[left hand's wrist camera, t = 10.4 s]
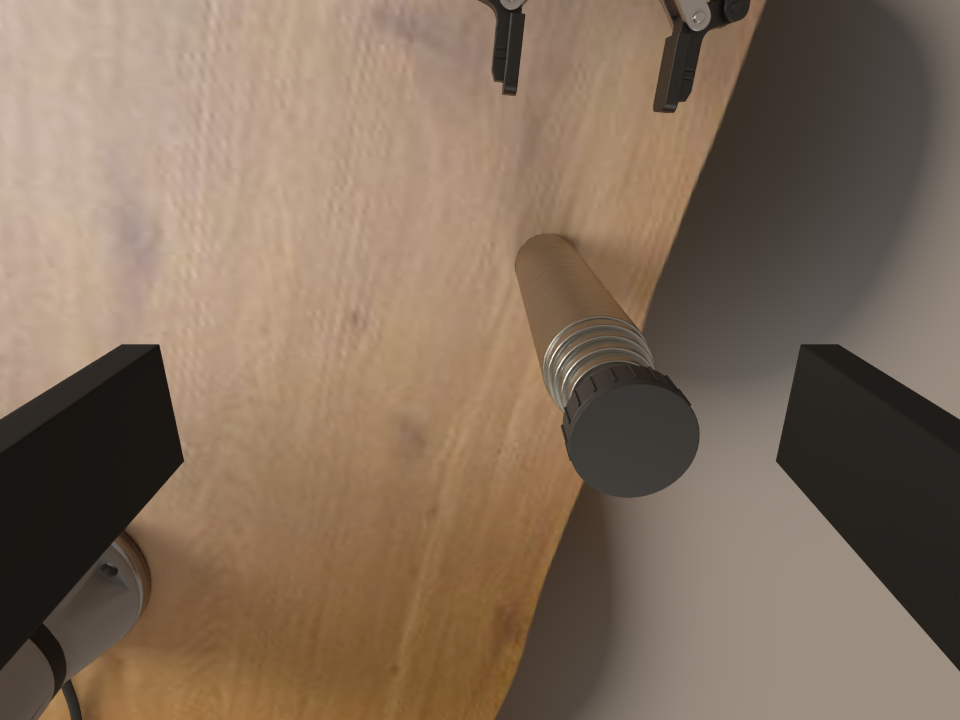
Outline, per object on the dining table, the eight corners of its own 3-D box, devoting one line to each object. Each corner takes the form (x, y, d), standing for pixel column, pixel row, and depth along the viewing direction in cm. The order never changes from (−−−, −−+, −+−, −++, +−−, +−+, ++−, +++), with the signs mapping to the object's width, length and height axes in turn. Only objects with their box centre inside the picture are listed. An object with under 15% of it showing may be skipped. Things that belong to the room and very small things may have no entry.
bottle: (529, 305, 43) (589, 514, 20) (505, 249, 41) (539, 404, 18) (587, 281, 42) (718, 467, 19) (565, 222, 41) (678, 350, 18)
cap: (585, 489, 21) (594, 516, 19) (542, 391, 19) (547, 413, 18) (699, 447, 20) (716, 472, 19) (662, 343, 19) (678, 361, 17)
